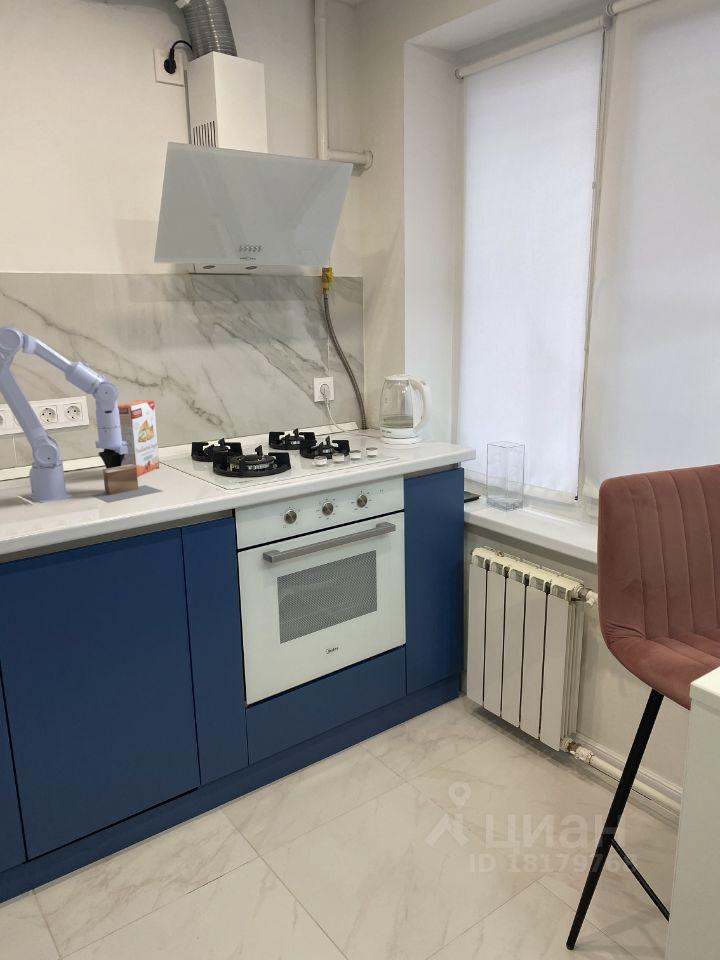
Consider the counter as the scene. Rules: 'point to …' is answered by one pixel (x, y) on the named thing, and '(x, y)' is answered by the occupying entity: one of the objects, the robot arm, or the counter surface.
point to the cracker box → (139, 435)
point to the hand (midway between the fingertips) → (114, 477)
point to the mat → (128, 494)
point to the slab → (120, 479)
